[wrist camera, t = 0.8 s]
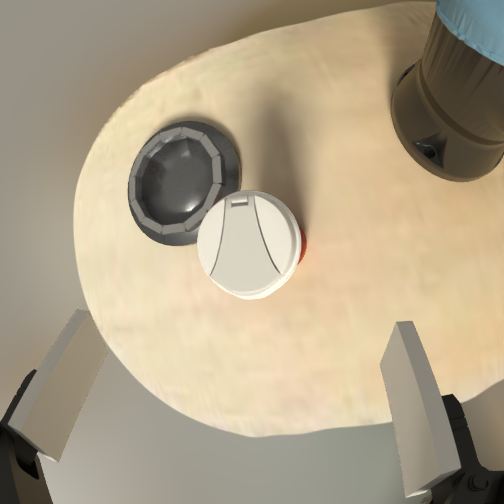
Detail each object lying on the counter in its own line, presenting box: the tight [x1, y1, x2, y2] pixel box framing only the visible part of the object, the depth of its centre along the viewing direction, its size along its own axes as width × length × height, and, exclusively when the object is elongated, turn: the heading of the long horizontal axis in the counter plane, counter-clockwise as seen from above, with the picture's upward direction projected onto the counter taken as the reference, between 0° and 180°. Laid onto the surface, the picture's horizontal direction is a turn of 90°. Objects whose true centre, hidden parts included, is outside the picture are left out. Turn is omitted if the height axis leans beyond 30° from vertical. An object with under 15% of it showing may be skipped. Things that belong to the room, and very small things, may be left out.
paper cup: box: [197, 190, 306, 299], centre depth 27 cm, size 8×8×14 cm
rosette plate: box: [128, 121, 242, 246], centre depth 36 cm, size 16×16×3 cm
